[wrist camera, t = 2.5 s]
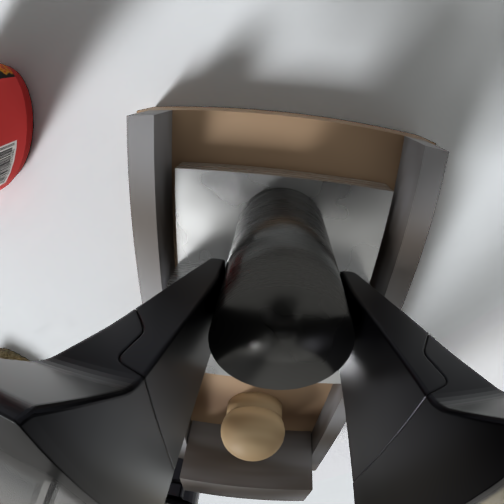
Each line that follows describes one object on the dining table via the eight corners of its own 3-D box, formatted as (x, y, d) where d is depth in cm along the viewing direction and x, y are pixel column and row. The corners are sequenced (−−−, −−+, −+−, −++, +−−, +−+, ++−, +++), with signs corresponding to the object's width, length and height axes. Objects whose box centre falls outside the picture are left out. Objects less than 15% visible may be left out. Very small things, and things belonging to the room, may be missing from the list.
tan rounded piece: (280, 423, 21) (279, 471, 17) (224, 418, 21) (217, 466, 17) (289, 392, 19) (289, 447, 15) (225, 386, 19) (216, 441, 15)
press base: (319, 431, 24) (322, 502, 18) (181, 418, 25) (164, 487, 19) (417, 135, 13) (508, 181, 7) (154, 106, 13) (63, 131, 7)
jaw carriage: (348, 320, 15) (374, 446, 9) (186, 305, 15) (143, 427, 9) (385, 183, 12) (473, 284, 6) (182, 161, 12) (92, 247, 6)
